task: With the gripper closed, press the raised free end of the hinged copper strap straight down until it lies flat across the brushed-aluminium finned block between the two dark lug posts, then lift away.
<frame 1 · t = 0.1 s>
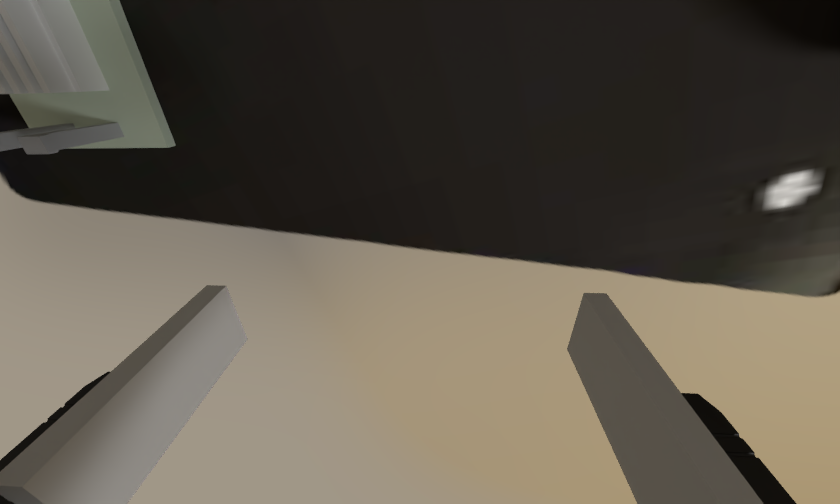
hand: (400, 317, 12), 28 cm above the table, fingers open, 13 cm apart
heatsink fixture: (54, 24, 32), on the table
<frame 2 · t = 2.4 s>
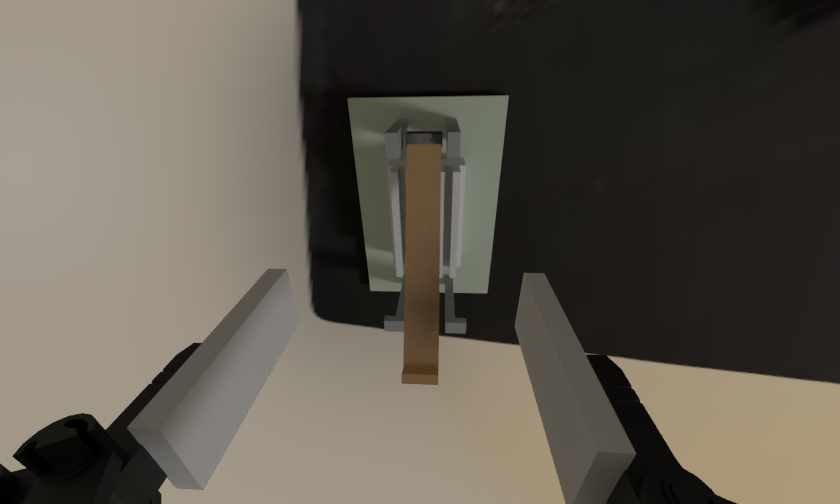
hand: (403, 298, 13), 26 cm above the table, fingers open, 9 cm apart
strap: (422, 253, 27), point 12 cm above the table, hinge at 30.0°
heatsink fixture: (427, 206, 38), on the table
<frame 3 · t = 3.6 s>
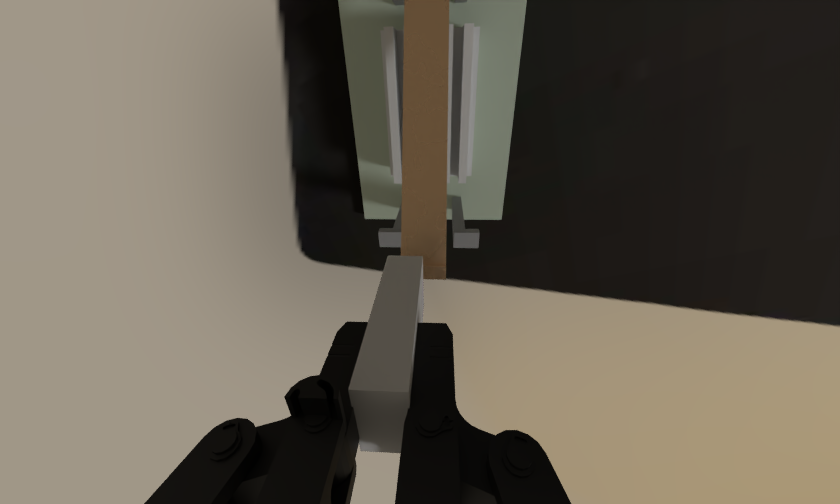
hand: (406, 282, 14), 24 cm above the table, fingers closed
strap: (425, 115, 21), point 12 cm above the table, hinge at 30.0°
heatsink fixture: (431, 105, 32), on the table
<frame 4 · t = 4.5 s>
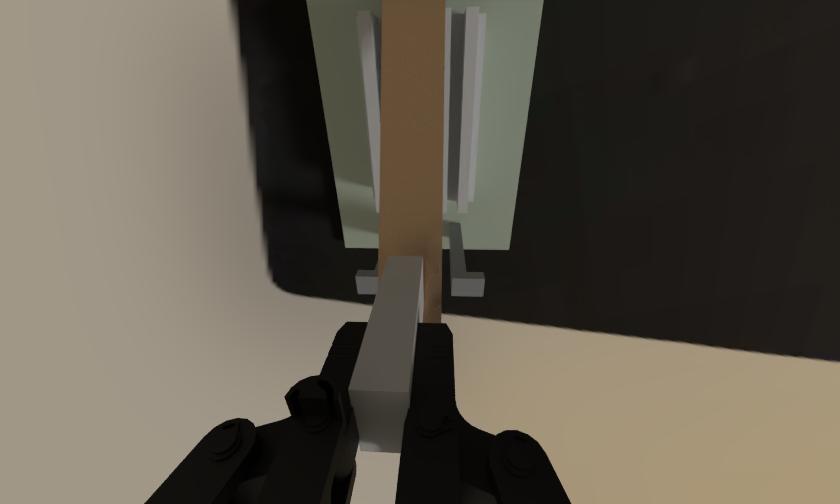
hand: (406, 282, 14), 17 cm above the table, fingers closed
strap: (411, 132, 15), point 12 cm above the table, hinge at 30.0°, touching gripper
heatsink fixture: (424, 114, 26), on the table
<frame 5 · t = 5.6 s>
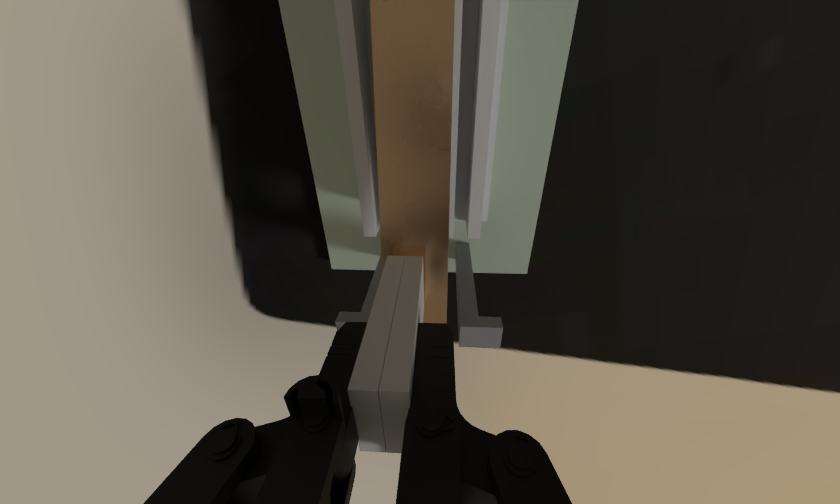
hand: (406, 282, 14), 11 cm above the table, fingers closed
strap: (413, 158, 13), point 10 cm above the table, hinge at 12.6°, touching gripper
heatsink fixture: (426, 109, 20), on the table
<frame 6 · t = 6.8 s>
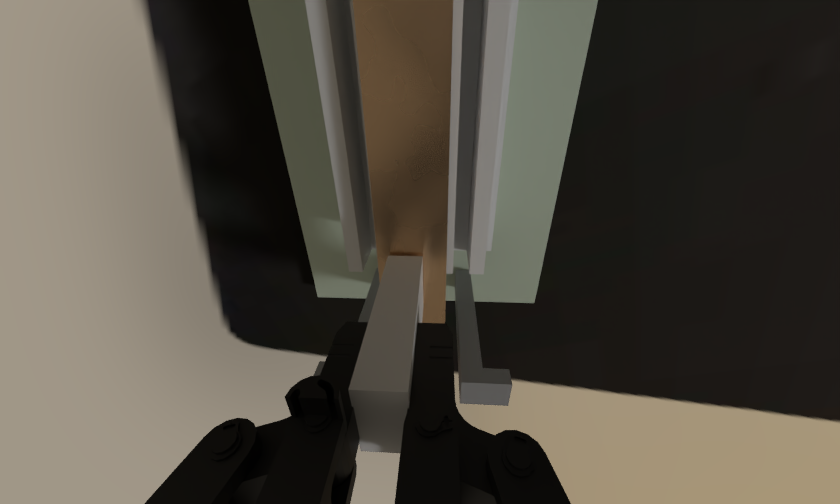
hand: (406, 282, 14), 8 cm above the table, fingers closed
strap: (408, 183, 12), point 8 cm above the table, hinge at 2.0°, touching gripper
heatsink fixture: (421, 123, 18), on the table
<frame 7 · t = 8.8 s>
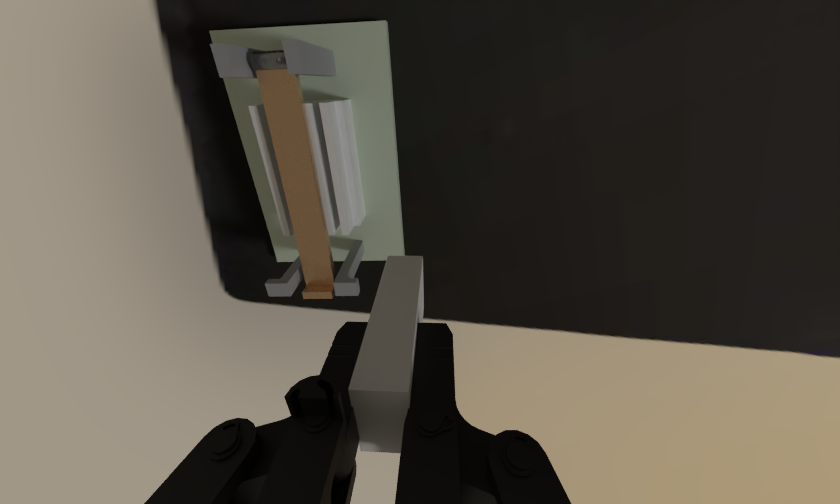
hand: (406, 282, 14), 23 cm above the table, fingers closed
strap: (300, 191, 28), point 8 cm above the table, hinge at 2.0°
heatsink fixture: (325, 160, 34), on the table
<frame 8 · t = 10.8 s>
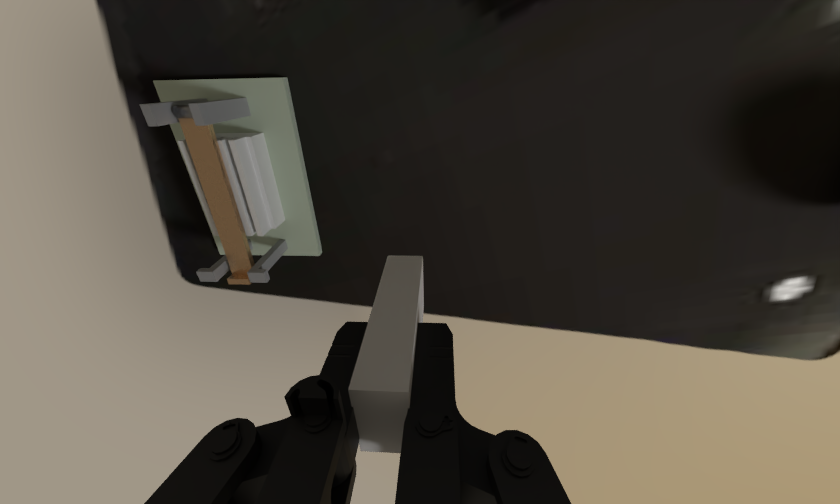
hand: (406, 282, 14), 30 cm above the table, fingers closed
strap: (219, 203, 38), point 8 cm above the table, hinge at 2.0°
heatsink fixture: (251, 176, 44), on the table
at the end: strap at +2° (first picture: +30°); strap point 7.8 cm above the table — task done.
